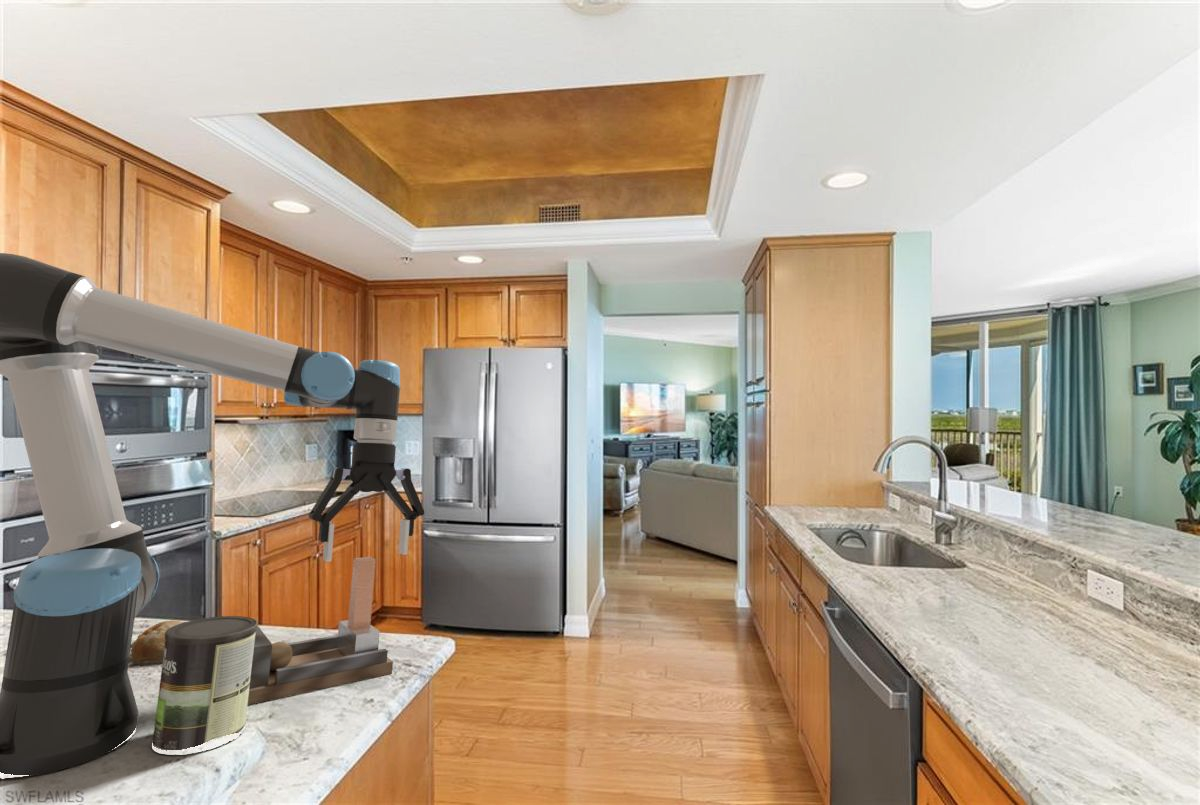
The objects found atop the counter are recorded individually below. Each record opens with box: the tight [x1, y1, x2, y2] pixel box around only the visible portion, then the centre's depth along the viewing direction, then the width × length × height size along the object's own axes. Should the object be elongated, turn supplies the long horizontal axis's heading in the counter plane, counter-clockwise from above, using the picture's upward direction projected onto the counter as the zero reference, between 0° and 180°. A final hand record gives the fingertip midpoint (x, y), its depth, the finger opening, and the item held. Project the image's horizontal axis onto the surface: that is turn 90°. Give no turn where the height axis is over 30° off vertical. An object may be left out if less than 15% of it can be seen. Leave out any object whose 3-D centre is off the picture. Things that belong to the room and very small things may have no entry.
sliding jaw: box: [337, 556, 381, 656], centre depth 100 cm, size 4×10×17 cm, turn 41°
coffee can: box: [151, 615, 259, 751], centre depth 73 cm, size 10×10×14 cm
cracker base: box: [247, 625, 394, 706], centre depth 94 cm, size 22×14×8 cm, turn 131°
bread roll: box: [130, 620, 185, 665], centre depth 100 cm, size 10×10×8 cm
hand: (366, 557), depth 101 cm, fingers open, 13 cm apart
